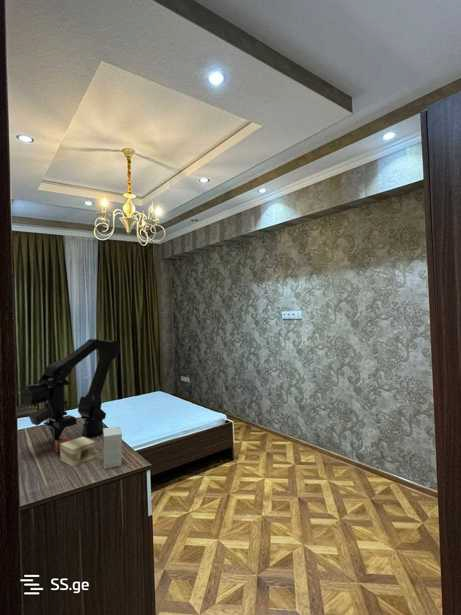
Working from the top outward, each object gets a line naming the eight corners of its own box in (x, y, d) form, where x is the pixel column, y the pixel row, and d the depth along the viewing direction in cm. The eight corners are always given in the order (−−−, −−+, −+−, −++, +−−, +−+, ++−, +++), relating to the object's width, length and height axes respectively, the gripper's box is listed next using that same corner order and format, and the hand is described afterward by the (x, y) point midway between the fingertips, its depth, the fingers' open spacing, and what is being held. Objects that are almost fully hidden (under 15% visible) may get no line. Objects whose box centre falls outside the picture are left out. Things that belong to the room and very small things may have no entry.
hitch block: (82, 451, 115) (82, 436, 115) (95, 457, 110) (95, 441, 110) (60, 460, 108) (60, 443, 108) (72, 466, 104) (72, 449, 104)
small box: (102, 459, 109) (102, 428, 109) (120, 456, 111) (120, 425, 111) (103, 469, 102) (103, 436, 102) (121, 466, 104) (122, 433, 104)
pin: (66, 447, 118) (66, 436, 118) (85, 456, 110) (85, 444, 110) (55, 451, 114) (55, 440, 114) (73, 460, 107) (73, 448, 107)
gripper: (20, 399, 118) (20, 442, 117) (44, 408, 107) (44, 455, 106) (52, 393, 127) (52, 433, 126) (77, 400, 116) (77, 444, 115)
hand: (55, 441), depth 118 cm, fingers closed
